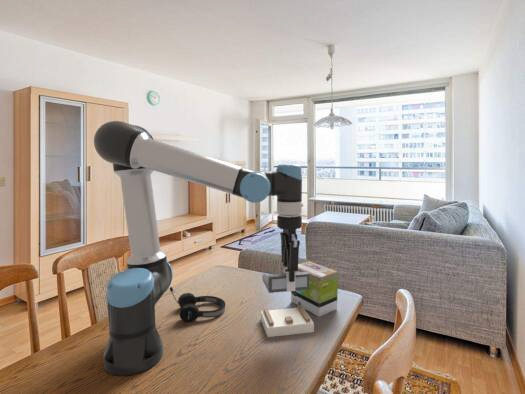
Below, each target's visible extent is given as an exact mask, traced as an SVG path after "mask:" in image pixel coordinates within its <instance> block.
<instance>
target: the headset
mask: <svg viewBox="0 0 525 394" xmlns="http://www.w3.org/2000/svg"><path fill="white" fill-rule="evenodd" d="M169 290H170V293H171V294H172V296H173V298H174V300H175V301H176V302H177V304H178V306H179V307H180V309H179V319H180V320H182V321H183V322H185V323H190V322H191V323H192V322H194V321H196V320H197V319H198V318H205V319H207V318H215V317H219V316H221V315H223V314H224V313H225V311H226V302H225V300H223V298H220V297H218V296H214V295H213V296H212V295H200V296H195V295H194V294H193V293H192V292H187V293H186V292H185V293H183V294H181V295H179V297H178V300H177V298H176V297H175V295H174V293H173V292H174V289H173V287H172V286H169ZM197 303H210V304H211V303H212V304H215V305H218V306H220V308H217V309H214V310H200V309H199V307H198V306H197V305H196V304H197Z"/></svg>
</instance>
